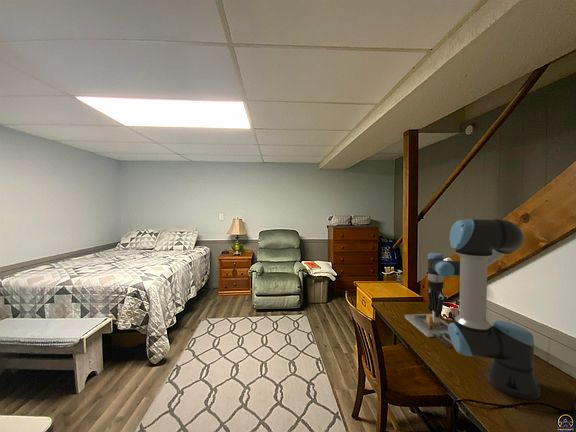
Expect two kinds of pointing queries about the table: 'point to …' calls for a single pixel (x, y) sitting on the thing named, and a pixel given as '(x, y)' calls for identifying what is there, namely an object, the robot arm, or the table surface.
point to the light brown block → (431, 320)
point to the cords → (445, 339)
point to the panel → (426, 329)
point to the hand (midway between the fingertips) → (435, 322)
